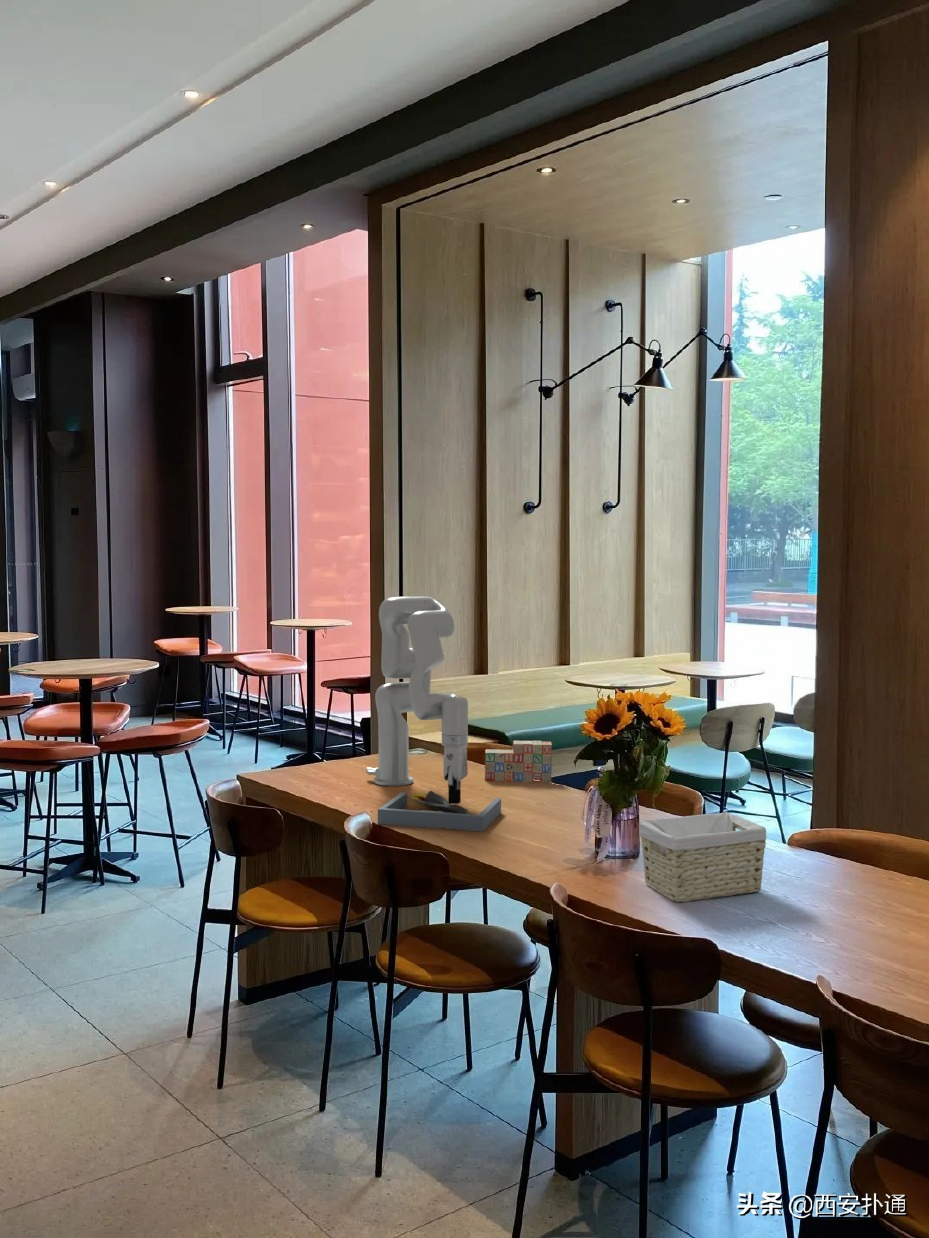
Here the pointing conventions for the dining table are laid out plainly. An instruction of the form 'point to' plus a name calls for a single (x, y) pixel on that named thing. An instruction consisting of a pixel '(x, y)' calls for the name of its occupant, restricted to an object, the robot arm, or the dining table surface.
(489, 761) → the stack of blocks
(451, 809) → the toy plane
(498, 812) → the u-shaped frame
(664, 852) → the storage basket
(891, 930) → the dining table surface
